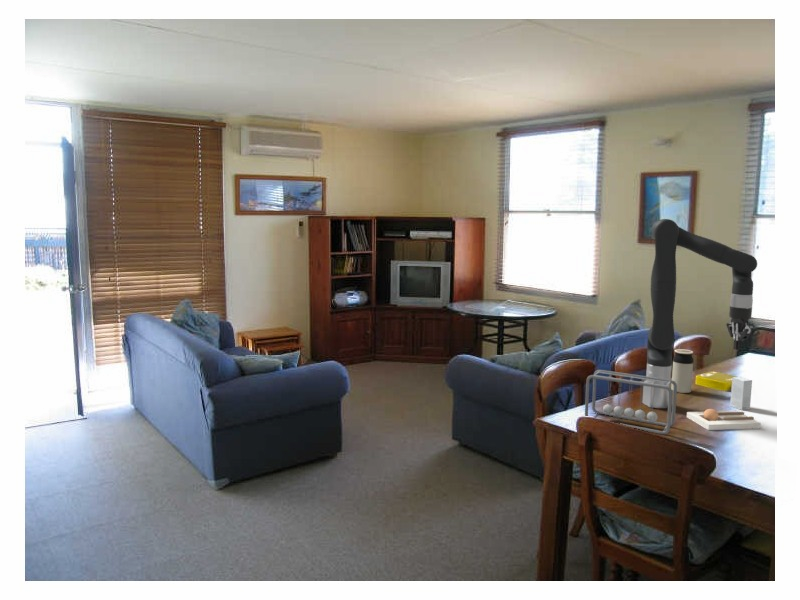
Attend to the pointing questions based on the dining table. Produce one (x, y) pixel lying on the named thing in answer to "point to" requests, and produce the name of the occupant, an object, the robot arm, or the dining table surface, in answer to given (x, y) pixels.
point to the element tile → (715, 380)
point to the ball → (710, 415)
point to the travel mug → (682, 370)
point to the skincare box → (741, 393)
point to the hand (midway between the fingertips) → (737, 349)
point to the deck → (725, 420)
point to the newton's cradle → (629, 411)
